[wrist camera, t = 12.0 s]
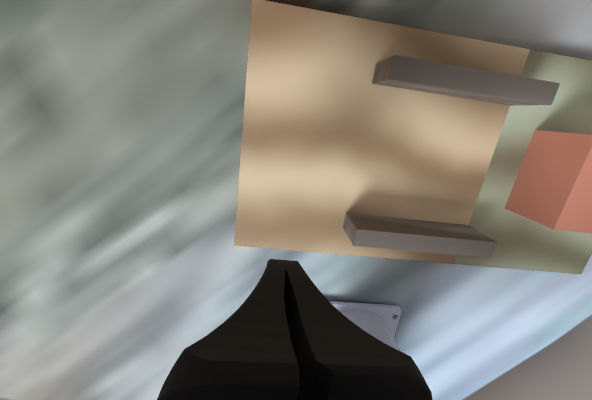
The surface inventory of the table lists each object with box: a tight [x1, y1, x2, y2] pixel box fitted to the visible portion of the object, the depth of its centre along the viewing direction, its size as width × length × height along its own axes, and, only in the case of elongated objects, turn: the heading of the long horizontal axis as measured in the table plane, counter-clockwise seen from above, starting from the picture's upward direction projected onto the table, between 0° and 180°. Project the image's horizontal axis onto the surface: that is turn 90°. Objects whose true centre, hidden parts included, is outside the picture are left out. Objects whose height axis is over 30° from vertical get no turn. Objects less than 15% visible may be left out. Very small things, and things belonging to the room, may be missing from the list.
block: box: [505, 130, 592, 234], centre depth 19 cm, size 6×6×4 cm
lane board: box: [234, 0, 592, 274], centre depth 19 cm, size 16×30×4 cm, turn 82°
